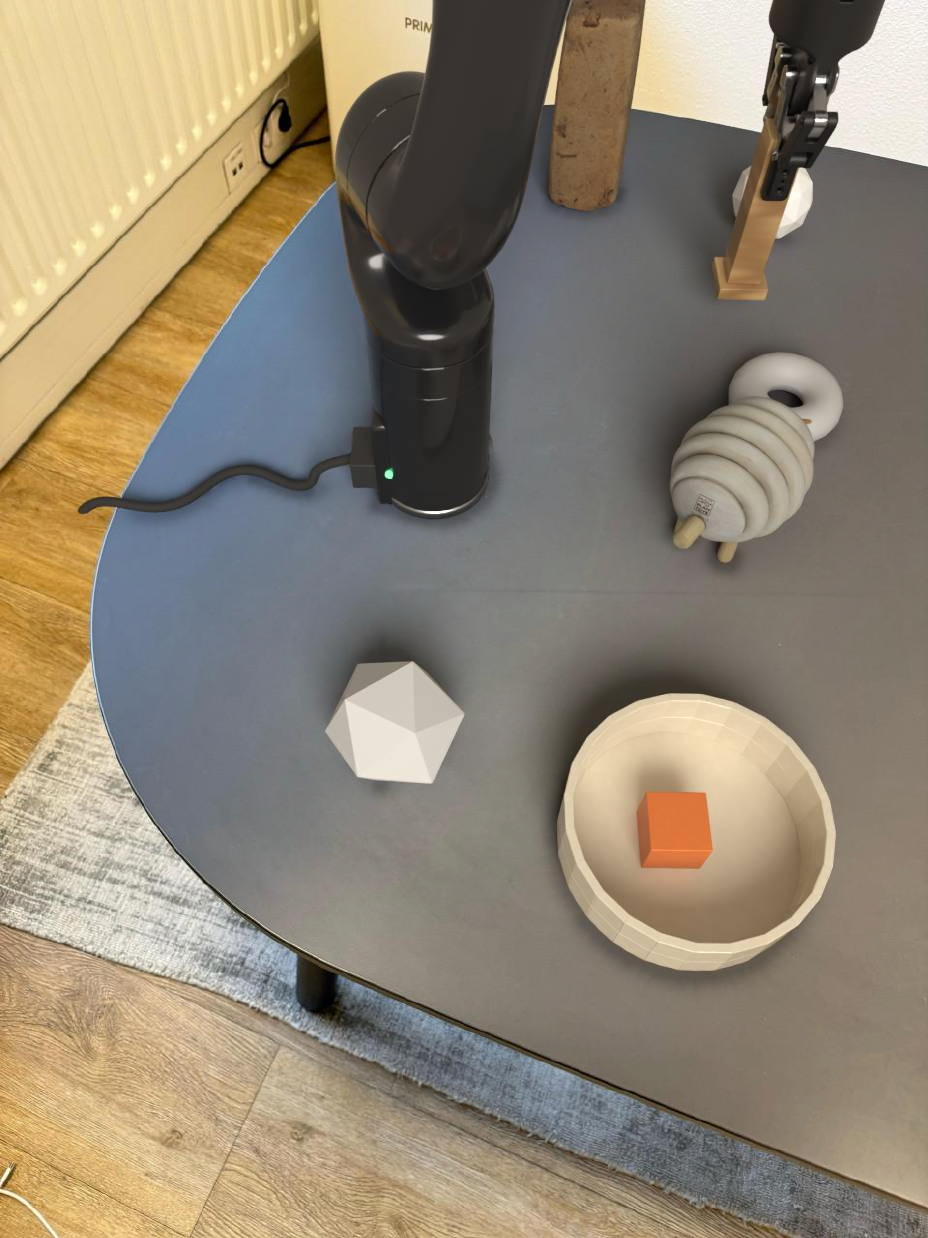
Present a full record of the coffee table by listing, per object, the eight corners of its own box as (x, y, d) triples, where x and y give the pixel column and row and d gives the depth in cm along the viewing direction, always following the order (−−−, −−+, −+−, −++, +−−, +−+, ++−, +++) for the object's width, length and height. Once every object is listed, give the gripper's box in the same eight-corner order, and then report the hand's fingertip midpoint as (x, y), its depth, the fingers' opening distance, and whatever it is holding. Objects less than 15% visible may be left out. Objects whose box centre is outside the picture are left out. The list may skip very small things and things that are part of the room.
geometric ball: (765, 241, 103) (822, 176, 99) (776, 266, 97) (838, 198, 93) (711, 197, 101) (767, 129, 97) (720, 220, 95) (780, 148, 91)
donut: (847, 453, 85) (822, 369, 90) (861, 428, 82) (835, 341, 87) (734, 456, 85) (715, 371, 90) (744, 430, 82) (724, 344, 87)
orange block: (640, 868, 66) (650, 850, 62) (636, 811, 68) (645, 791, 64) (699, 869, 66) (713, 851, 62) (693, 812, 68) (706, 792, 64)
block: (612, 222, 101) (643, 22, 83) (541, 211, 101) (557, 11, 84) (626, 159, 106) (659, -41, 89) (559, 149, 107) (578, -51, 90)
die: (424, 674, 75) (333, 625, 68) (506, 708, 68) (416, 658, 61) (375, 775, 74) (279, 737, 66) (454, 819, 67) (357, 782, 60)
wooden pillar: (717, 299, 89) (763, 145, 76) (711, 267, 91) (755, 111, 78) (764, 300, 89) (819, 146, 76) (758, 268, 91) (809, 112, 78)
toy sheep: (819, 482, 83) (865, 390, 74) (734, 623, 76) (773, 541, 67) (708, 430, 86) (739, 335, 77) (616, 561, 79) (638, 475, 70)
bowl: (561, 970, 63) (570, 951, 58) (552, 727, 72) (559, 691, 66) (826, 974, 63) (859, 955, 58) (785, 730, 72) (810, 694, 66)
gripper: (770, -92, 70) (714, 133, 85) (803, 13, 63) (735, 239, 78) (874, -90, 70) (799, 135, 85) (919, 15, 63) (829, 240, 78)
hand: (769, 183), depth 81 cm, fingers closed on wooden pillar, 3 cm apart
